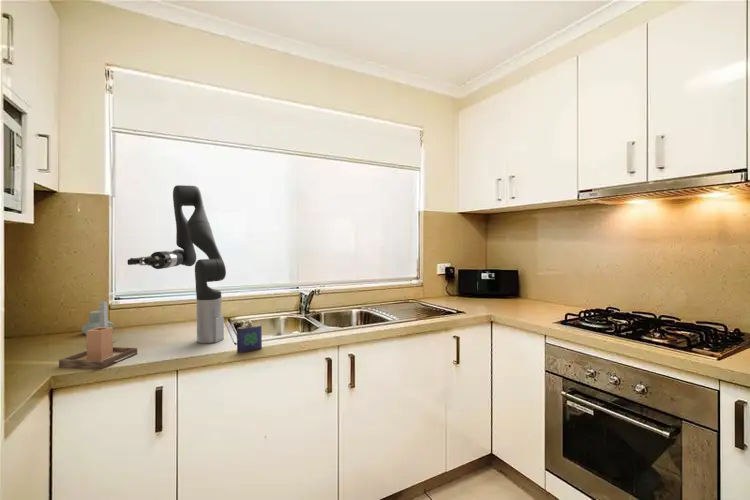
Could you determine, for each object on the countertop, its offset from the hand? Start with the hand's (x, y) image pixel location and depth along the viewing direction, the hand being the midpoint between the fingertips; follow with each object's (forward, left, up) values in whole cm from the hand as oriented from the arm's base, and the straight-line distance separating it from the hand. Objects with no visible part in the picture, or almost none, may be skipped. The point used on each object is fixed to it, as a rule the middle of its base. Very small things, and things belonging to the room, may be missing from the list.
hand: (139, 262), depth 145 cm
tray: (-3, +22, -32) cm, 39 cm away
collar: (-3, +22, -31) cm, 38 cm away
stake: (+10, +6, -32) cm, 34 cm away
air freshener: (+26, -8, -32) cm, 42 cm away
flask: (-48, +4, -32) cm, 58 cm away
